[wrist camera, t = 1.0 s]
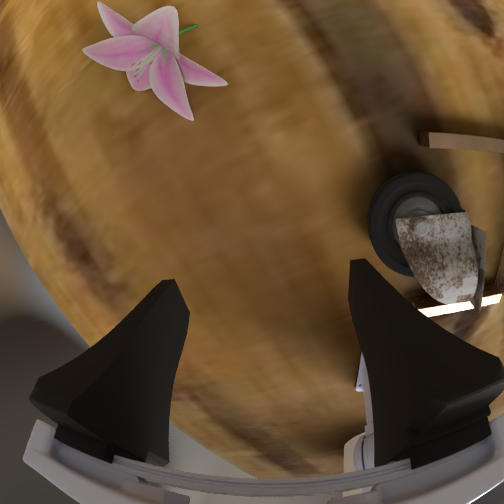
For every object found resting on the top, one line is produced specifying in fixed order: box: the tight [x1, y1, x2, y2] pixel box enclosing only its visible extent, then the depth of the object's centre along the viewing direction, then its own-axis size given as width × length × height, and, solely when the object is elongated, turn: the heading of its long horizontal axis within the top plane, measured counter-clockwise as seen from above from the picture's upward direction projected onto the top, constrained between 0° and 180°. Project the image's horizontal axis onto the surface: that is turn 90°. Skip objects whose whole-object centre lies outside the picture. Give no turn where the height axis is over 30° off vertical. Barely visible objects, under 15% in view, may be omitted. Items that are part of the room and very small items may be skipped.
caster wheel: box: [368, 172, 487, 314], centre depth 19 cm, size 7×11×10 cm
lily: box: [82, 2, 228, 121], centre depth 15 cm, size 12×12×10 cm
